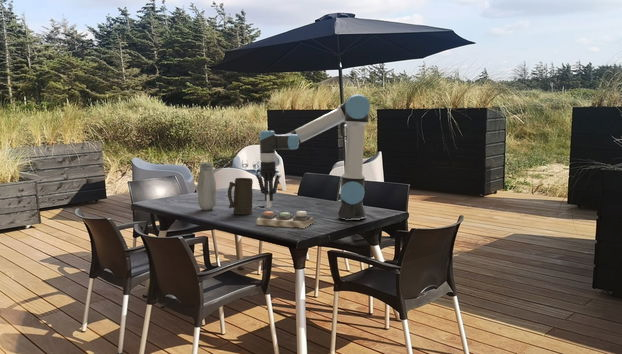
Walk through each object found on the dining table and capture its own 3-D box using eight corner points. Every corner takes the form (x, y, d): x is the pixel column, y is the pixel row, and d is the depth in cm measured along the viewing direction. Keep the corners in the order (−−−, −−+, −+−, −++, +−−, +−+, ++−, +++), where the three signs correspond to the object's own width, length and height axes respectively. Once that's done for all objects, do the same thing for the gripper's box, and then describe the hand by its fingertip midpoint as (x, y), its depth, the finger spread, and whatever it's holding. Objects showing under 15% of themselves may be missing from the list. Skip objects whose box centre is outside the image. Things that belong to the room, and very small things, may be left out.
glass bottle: (212, 211, 296) (210, 163, 293) (195, 211, 298) (194, 163, 295) (218, 208, 306) (217, 161, 302) (202, 208, 308) (201, 161, 304)
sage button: (291, 216, 262) (291, 212, 261) (287, 218, 257) (287, 214, 257) (282, 215, 263) (282, 212, 263) (278, 217, 259) (278, 213, 258)
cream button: (308, 215, 258) (307, 211, 258) (304, 217, 254) (304, 213, 253) (298, 214, 260) (298, 210, 260) (295, 216, 255) (295, 212, 255)
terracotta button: (275, 215, 265) (275, 211, 264) (271, 217, 260) (271, 213, 260) (266, 214, 266) (266, 211, 266) (262, 216, 262) (262, 212, 261)
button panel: (313, 223, 262) (313, 214, 261) (304, 228, 250) (304, 219, 250) (266, 220, 270) (266, 211, 270) (256, 224, 259) (256, 216, 259)
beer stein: (244, 211, 297) (243, 176, 295) (257, 213, 290) (256, 178, 288) (223, 215, 285) (222, 179, 283) (237, 217, 278) (236, 180, 276)
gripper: (282, 160, 261) (283, 206, 264) (259, 160, 265) (260, 205, 268) (276, 162, 254) (278, 209, 257) (252, 161, 258) (254, 208, 261)
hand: (269, 207), depth 262 cm, fingers closed
